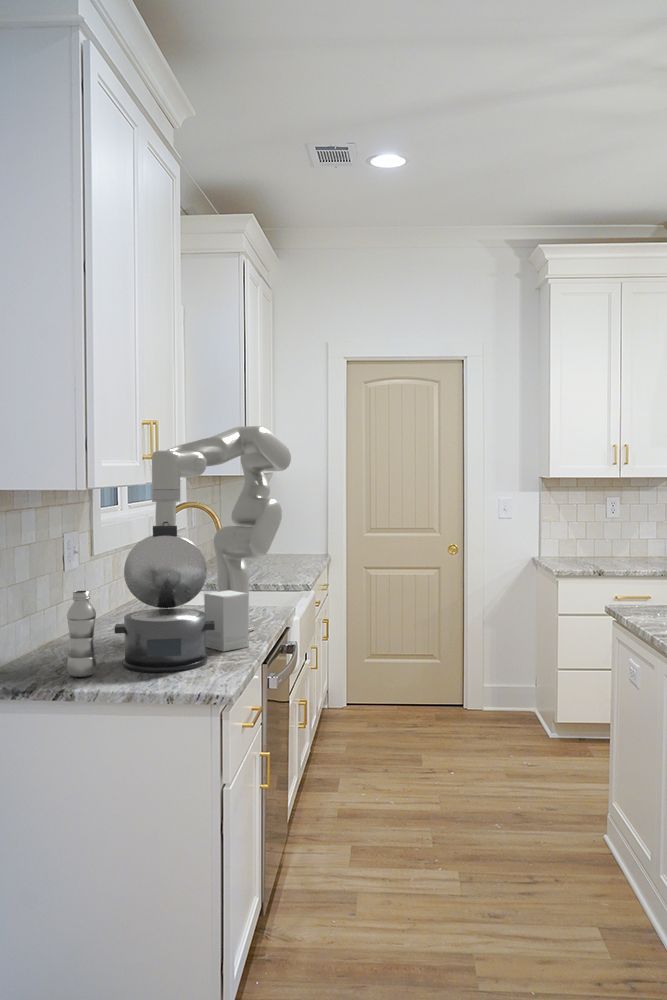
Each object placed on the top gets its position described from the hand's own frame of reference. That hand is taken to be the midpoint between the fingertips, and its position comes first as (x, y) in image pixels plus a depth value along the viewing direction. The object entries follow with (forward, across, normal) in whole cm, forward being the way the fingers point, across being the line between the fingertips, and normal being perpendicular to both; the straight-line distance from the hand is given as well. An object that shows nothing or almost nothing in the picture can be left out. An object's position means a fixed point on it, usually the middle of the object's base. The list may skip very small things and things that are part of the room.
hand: (166, 563), depth 214 cm
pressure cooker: (+23, +16, 0) cm, 28 cm away
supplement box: (+23, +1, +16) cm, 28 cm away
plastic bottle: (+23, +26, -19) cm, 40 cm away
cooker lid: (0, +10, 0) cm, 10 cm away
